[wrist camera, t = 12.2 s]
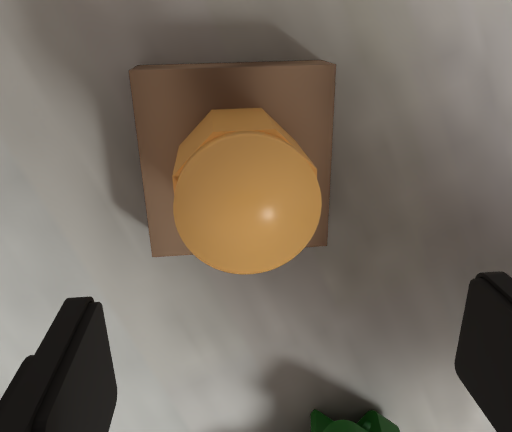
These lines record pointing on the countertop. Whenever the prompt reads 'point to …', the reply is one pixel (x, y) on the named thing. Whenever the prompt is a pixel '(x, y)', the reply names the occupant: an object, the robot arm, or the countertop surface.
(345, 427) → the clamp
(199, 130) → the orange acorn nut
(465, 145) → the countertop surface
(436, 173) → the countertop surface
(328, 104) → the post block
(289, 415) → the countertop surface
